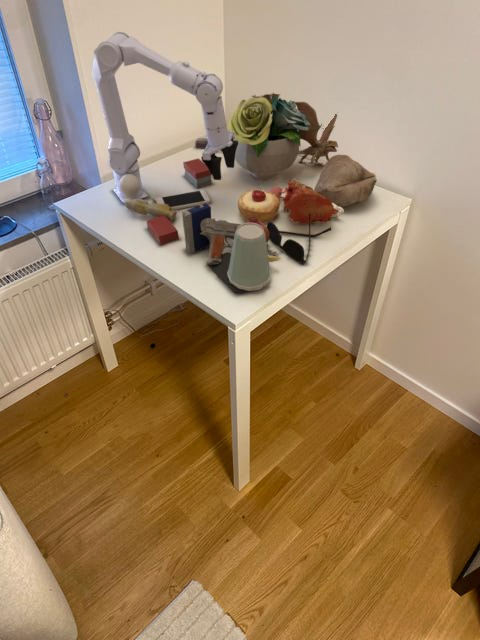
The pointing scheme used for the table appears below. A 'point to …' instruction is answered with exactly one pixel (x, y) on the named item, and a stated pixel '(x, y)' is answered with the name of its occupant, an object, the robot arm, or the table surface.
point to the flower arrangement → (267, 134)
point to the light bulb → (129, 186)
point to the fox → (273, 258)
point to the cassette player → (195, 227)
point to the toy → (271, 253)
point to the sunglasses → (291, 242)
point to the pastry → (258, 205)
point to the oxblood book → (197, 168)
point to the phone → (225, 272)
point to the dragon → (315, 135)
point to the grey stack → (198, 180)
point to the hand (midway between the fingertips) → (224, 173)
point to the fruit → (255, 220)
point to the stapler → (338, 210)
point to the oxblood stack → (162, 230)
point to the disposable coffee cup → (249, 258)
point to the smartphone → (184, 199)
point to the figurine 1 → (150, 208)
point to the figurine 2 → (278, 192)
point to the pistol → (217, 237)
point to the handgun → (201, 142)
